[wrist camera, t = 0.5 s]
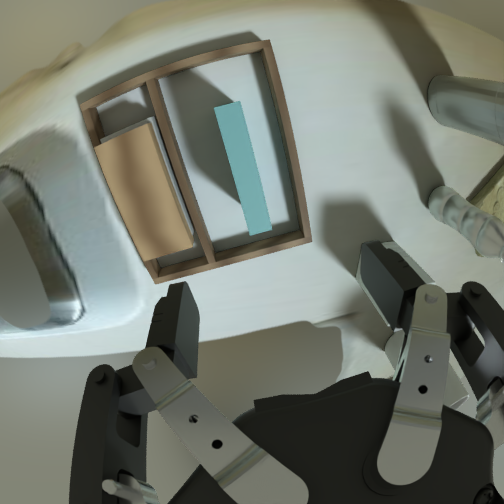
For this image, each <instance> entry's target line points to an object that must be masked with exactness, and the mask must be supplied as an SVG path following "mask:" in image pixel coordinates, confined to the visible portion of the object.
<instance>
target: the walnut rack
mask: <svg viewBox="0 0 504 504" xmlns="http://www.w3.org/2000/svg"><path fill="white" fill-rule="evenodd" d="M256 52H260V53H261V57H262V60H263V64H264V68H265V71H266V75H267V79H268V83H269V87H270V90H271V94H272V98H273V102H274V107H275V111H276V115H277V119H278V123H279V128H280V132H281V136H282V141H283V145H284V150H285V155H286V159H287V164H288V169H289V174H290V179H291V184H292V189H293V194H294V199H295V205H296V210H297V215H298V221H299V227H300V230H298V231H294V232H290V233H286V234H283V235H279V236H275V237H272V238H268V239H264V240H261V241H257V242H253V243H250V244H246V245H243V246H239V247H235V248H232V249H228V250H224V251H221V252H217V253H215V250H214V247H213V245H212V242H211V239H210V236H209V234H208V231H207V228H206V225H205V223H204V220H203V217H202V214H201V211H200V208H199V206H198V203H197V200H196V197H195V194H194V191H193V188H192V185H191V182H190V179H189V177H188V174H187V171H186V168H185V165H184V162H183V159H182V156H181V152H180V149H179V146H178V143H177V140H176V137H175V134H174V131H173V128H172V124H171V121H170V118H169V115H168V112H167V108H166V105H165V102H164V98H163V95H162V92H161V88H160V85H159V82H158V79H161V78H164V77H166V76H169V75H172V74H175V73H178V72H181V71H184V70H187V69H190V68H194V67H197V66H201V65H204V64H208V63H211V62H215V61H219V60H223V59H227V58H232V57H236V56H241V55H246V54H251V53H256ZM145 84H147V88H148V91H149V94H150V98H151V101H152V104H153V107H154V111H155V114H156V117H157V120H158V123H159V127H160V130H161V133H162V136H163V139H164V142H165V145H166V148H167V151H168V154H169V157H170V160H171V163H172V166H173V169H174V171H175V174H176V177H177V180H178V183H179V186H180V188H181V191H182V194H183V197H184V200H185V202H186V205H187V208H188V211H189V213H190V216H191V219H192V221H193V224H194V227H195V229H196V232H197V234H198V237H199V240H200V242H201V245H202V247H203V250H204V253H205V255H206V256H203V257H199V258H196V259H192V260H189V261H185V262H181V263H178V264H174V265H171V266H167V267H164V268H161V267H160V265H159V263H158V261H157V259H156V258H154V259H151V260H147V261H143V262H144V264H145V266H146V268H147V270H148V272H149V274H150V275H151V277H152V279H153V281H154V283H155V284H159V283H163V282H167V281H170V280H174V279H178V278H182V277H185V276H189V275H193V274H196V273H200V272H204V271H207V270H211V269H215V268H219V267H222V266H226V265H230V264H233V263H237V262H241V261H244V260H248V259H252V258H255V257H259V256H263V255H266V254H270V253H274V252H277V251H281V250H284V249H288V248H292V247H295V246H299V245H303V244H306V243H310V242H312V236H311V229H310V223H309V216H308V210H307V204H306V198H305V192H304V187H303V181H302V175H301V170H300V165H299V160H298V155H297V150H296V145H295V140H294V135H293V130H292V126H291V121H290V117H289V112H288V108H287V104H286V100H285V95H284V91H283V87H282V83H281V79H280V75H279V72H278V68H277V64H276V60H275V57H274V53H273V49H272V46H271V42H270V40H263V41H257V42H251V43H246V44H241V45H236V46H231V47H227V48H223V49H219V50H215V51H211V52H207V53H203V54H200V55H196V56H193V57H190V58H186V59H183V60H180V61H177V62H174V63H171V64H168V65H165V66H163V67H160V68H157V69H155V70H152V71H149V72H147V73H144V74H142V75H140V76H137V77H135V78H132V79H130V80H128V81H126V82H123V83H121V84H119V85H117V86H115V87H113V88H111V89H109V90H107V91H105V92H103V93H101V94H99V95H97V96H95V97H93V98H91V99H89V100H88V101H86V102H84V103H82V104H81V105H80V107H81V111H82V114H83V117H84V120H85V123H86V127H87V130H88V133H89V136H90V139H91V141H92V144H93V147H94V148H95V147H96V146H98V145H101V141H100V139H102V138H104V137H105V134H104V131H103V128H102V125H101V121H100V118H99V115H98V112H97V109H96V107H98V106H100V105H101V104H103V103H105V102H107V101H109V100H112V99H114V98H116V97H118V96H120V95H122V94H124V93H127V92H129V91H131V90H133V89H136V88H138V87H141V86H143V85H145ZM94 150H95V149H94ZM95 153H96V152H95ZM97 158H98V157H97ZM98 161H99V160H98ZM99 164H100V163H99ZM100 166H101V165H100ZM101 169H102V168H101ZM102 171H103V170H102ZM103 174H104V173H103ZM104 176H105V175H104ZM105 179H106V178H105ZM106 181H107V180H106ZM107 184H108V183H107ZM108 186H109V185H108ZM109 189H110V188H109ZM110 191H111V190H110ZM111 194H112V192H111ZM112 196H113V195H112ZM113 198H114V197H113ZM114 201H115V199H114ZM115 203H116V202H115ZM116 205H117V204H116ZM117 208H118V206H117ZM118 210H119V209H118ZM119 212H120V211H119ZM120 214H121V213H120ZM121 217H122V215H121ZM122 219H123V217H122ZM123 221H124V220H123ZM124 223H125V222H124ZM125 225H126V224H125ZM126 227H127V226H126ZM127 230H128V228H127ZM128 232H129V230H128ZM129 234H130V232H129ZM130 236H131V235H130ZM131 238H132V237H131ZM132 240H133V239H132ZM133 242H134V241H133ZM134 244H135V243H134ZM135 246H136V245H135ZM136 248H137V247H136ZM137 250H138V249H137ZM138 252H139V251H138ZM139 254H140V253H139ZM140 256H141V255H140ZM141 258H142V257H141ZM142 260H143V259H142Z"/></svg>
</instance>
